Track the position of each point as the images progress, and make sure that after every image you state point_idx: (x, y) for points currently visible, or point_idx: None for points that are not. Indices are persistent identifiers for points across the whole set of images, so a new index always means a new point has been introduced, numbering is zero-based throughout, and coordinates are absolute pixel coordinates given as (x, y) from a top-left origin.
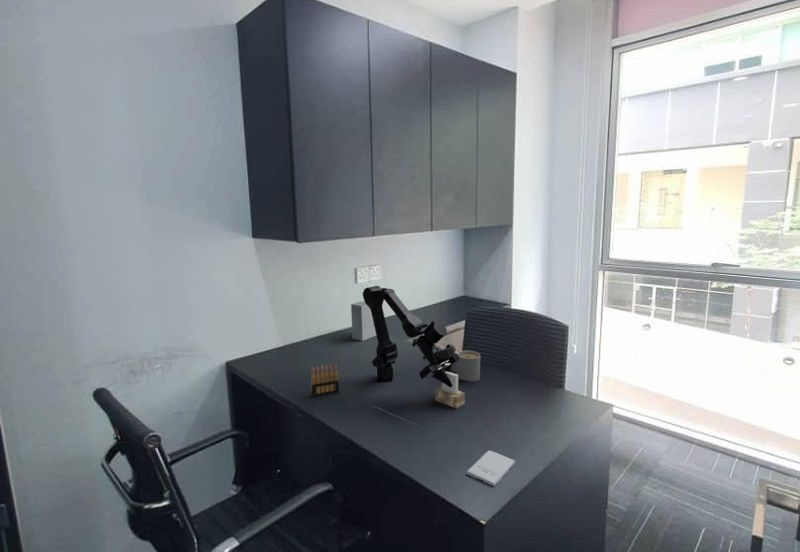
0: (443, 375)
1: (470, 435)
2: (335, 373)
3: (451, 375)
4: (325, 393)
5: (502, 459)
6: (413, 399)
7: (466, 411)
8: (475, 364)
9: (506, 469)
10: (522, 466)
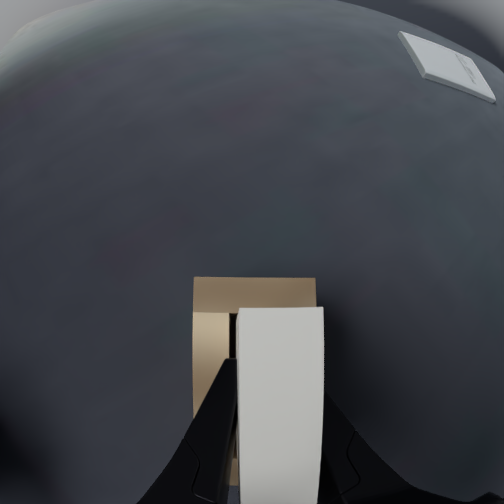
0: (388, 470)
1: (412, 134)
2: None
3: (319, 397)
4: None
5: (421, 46)
6: None
7: (270, 237)
8: None
9: (432, 42)
10: (390, 26)
